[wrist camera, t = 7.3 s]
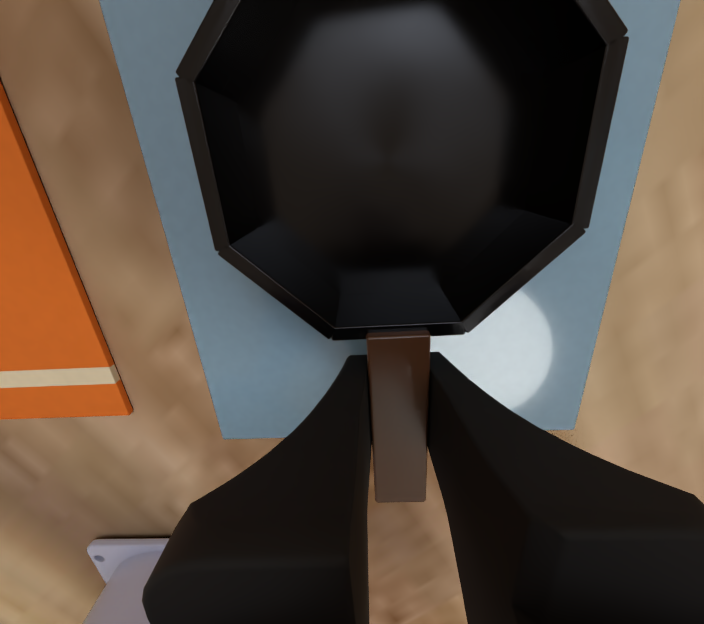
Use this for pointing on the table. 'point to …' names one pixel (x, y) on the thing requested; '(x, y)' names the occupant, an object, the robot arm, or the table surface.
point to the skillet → (399, 168)
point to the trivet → (329, 356)
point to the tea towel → (44, 304)
